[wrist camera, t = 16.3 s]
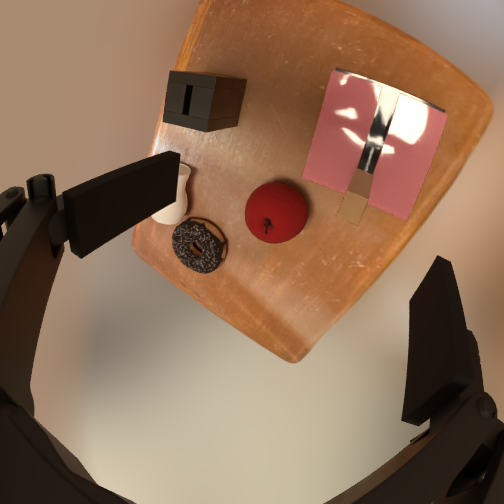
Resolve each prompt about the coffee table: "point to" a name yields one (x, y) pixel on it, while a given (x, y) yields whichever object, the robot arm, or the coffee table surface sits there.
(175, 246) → the donut
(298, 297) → the coffee table surface
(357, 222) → the knife
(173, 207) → the cream ceramic vase
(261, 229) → the apple
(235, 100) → the knife block
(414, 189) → the cake
